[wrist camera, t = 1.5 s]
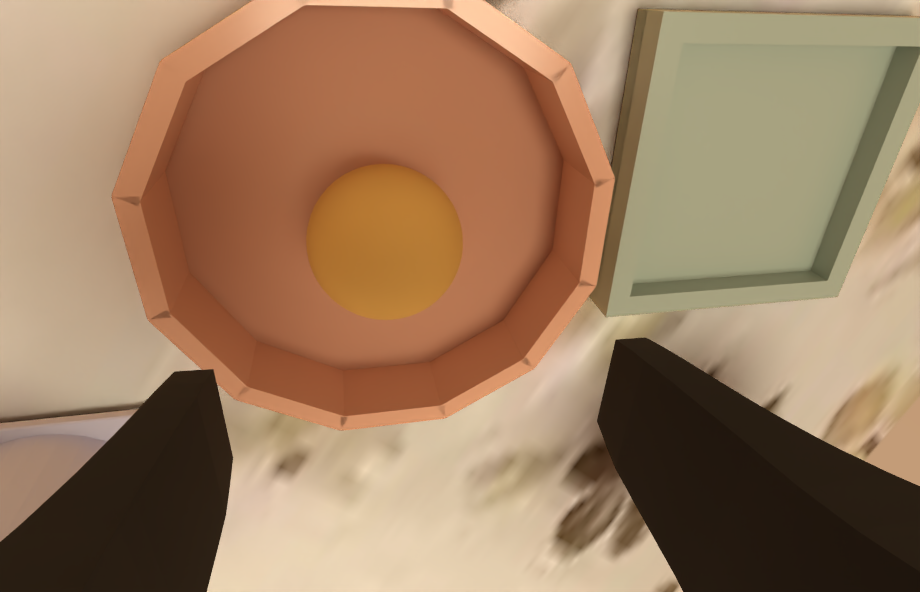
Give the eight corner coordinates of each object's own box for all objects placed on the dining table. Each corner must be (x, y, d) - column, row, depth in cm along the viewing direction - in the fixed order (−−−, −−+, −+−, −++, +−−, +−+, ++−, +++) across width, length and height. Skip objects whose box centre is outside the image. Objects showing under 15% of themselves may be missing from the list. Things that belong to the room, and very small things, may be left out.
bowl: (203, 389, 20) (185, 449, 18) (96, -34, 14) (43, -36, 11) (548, 354, 23) (576, 402, 20) (597, -16, 16) (648, -15, 14)
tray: (589, 297, 22) (605, 317, 20) (638, 8, 17) (663, 11, 15) (809, 279, 23) (837, 296, 22) (912, 16, 19) (955, 18, 17)
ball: (316, 280, 18) (312, 358, 15) (300, 147, 16) (292, 198, 12) (446, 271, 19) (475, 343, 15) (449, 144, 17) (482, 191, 13)
